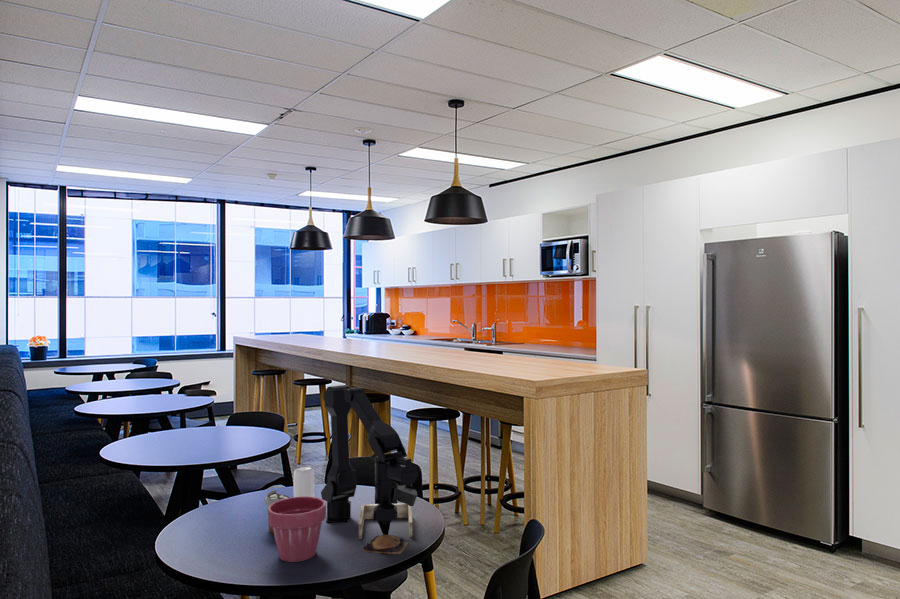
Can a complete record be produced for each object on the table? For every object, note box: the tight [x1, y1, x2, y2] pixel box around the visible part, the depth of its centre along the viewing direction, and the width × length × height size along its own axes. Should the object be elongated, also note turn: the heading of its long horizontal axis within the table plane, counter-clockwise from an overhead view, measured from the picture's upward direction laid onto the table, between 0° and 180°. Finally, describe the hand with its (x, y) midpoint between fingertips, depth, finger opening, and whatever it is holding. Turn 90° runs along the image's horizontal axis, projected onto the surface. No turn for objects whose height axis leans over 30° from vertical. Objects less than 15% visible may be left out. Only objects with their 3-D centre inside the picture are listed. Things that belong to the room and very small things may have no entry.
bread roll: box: [362, 534, 409, 555], centre depth 161 cm, size 11×8×4 cm
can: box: [293, 465, 315, 497], centre depth 195 cm, size 6×6×12 cm
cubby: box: [358, 502, 413, 540], centre depth 175 cm, size 15×17×4 cm
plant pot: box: [267, 496, 327, 563], centre depth 156 cm, size 14×14×13 cm
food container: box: [264, 489, 291, 535], centre depth 173 cm, size 12×6×10 cm, turn 48°
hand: (385, 536), depth 166 cm, fingers closed
